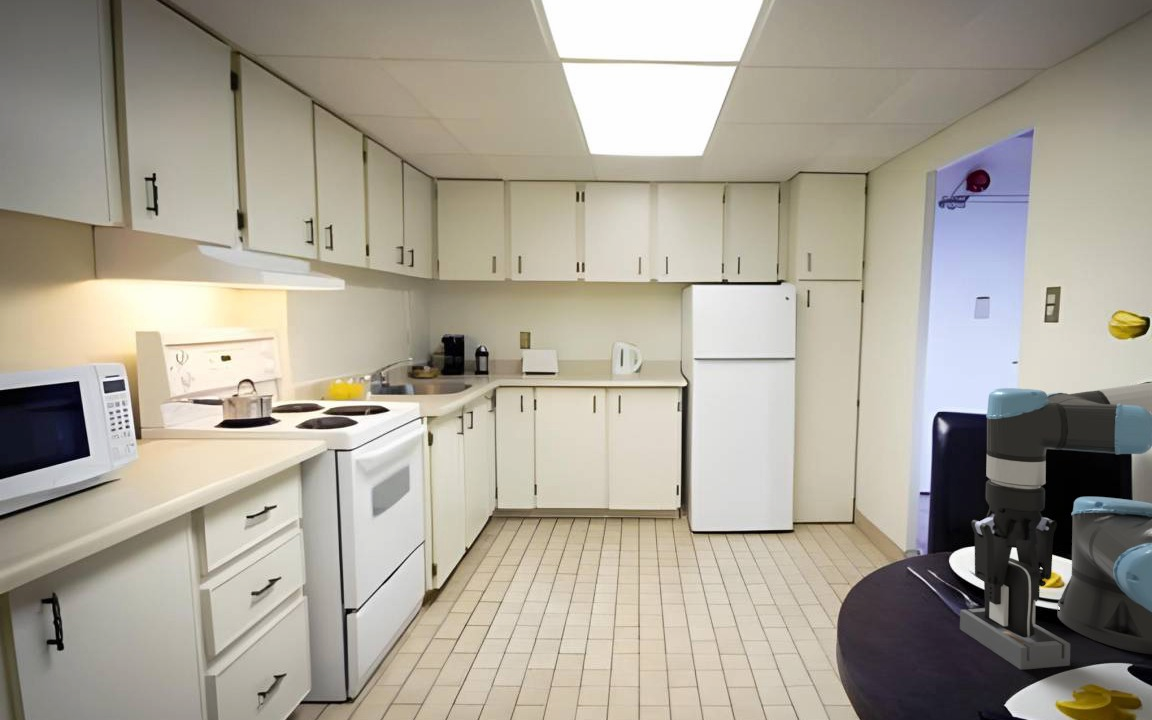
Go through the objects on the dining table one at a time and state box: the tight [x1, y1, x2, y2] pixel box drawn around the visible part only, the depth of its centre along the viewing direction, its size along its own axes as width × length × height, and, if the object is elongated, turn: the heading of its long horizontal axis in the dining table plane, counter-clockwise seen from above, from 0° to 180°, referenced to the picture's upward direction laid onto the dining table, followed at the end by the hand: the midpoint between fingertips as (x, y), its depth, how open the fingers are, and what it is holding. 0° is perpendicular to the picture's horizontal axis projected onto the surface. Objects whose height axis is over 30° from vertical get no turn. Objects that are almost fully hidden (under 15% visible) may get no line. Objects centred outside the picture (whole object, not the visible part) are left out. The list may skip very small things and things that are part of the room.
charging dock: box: [959, 607, 1071, 671], centre depth 88 cm, size 8×12×4 cm
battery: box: [983, 557, 1041, 638], centre depth 88 cm, size 7×4×11 cm, turn 14°
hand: (1011, 620), depth 88 cm, fingers closed on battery, 4 cm apart
